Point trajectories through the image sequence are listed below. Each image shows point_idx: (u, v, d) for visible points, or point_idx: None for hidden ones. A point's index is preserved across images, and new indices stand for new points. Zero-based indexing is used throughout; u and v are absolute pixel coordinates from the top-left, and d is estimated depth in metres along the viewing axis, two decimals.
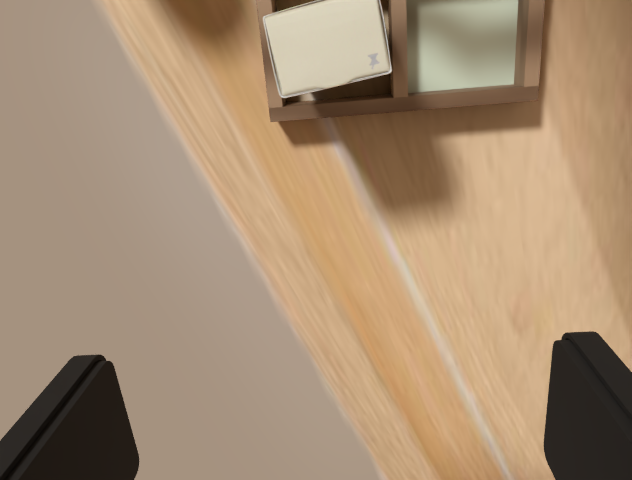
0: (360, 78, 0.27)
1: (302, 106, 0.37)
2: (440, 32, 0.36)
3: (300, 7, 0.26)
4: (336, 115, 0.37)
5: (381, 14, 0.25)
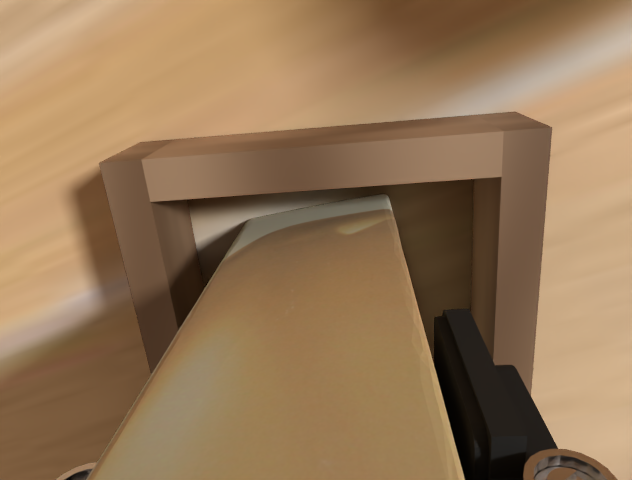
0: None
1: (159, 258, 0.12)
2: None
3: None
4: (147, 344, 0.13)
5: None
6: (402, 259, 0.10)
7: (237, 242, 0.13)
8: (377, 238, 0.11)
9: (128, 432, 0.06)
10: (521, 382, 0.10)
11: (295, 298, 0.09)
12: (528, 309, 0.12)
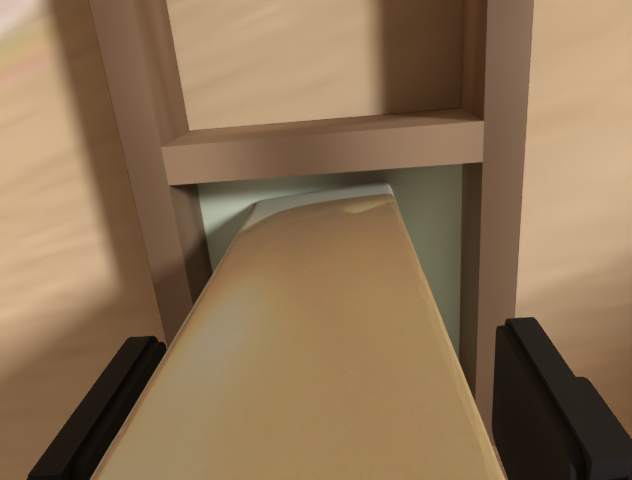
0: None
1: None
2: None
3: None
4: None
5: None
6: (406, 232, 0.11)
7: (250, 218, 0.14)
8: (382, 216, 0.12)
9: (175, 356, 0.07)
10: (598, 397, 0.09)
11: (311, 261, 0.10)
12: None
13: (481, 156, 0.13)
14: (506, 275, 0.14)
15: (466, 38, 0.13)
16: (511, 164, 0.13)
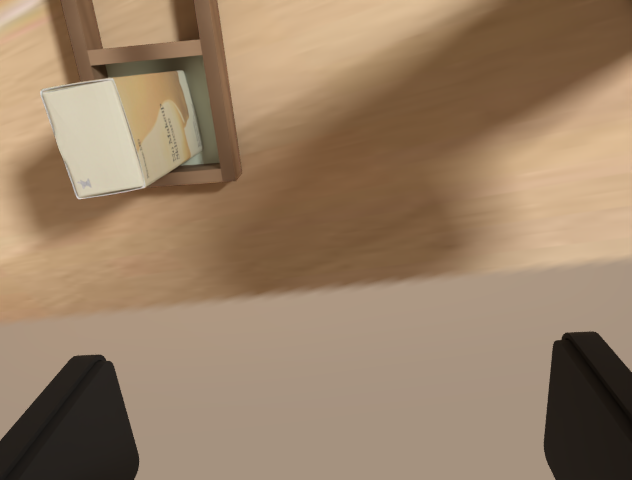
0: (68, 170, 0.28)
1: None
2: None
3: (124, 116, 0.27)
4: None
5: (124, 190, 0.28)
6: (160, 72, 0.33)
7: None
8: None
9: None
10: None
11: None
12: None
13: (202, 53, 0.35)
14: (219, 101, 0.36)
15: None
16: (212, 55, 0.35)
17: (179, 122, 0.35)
